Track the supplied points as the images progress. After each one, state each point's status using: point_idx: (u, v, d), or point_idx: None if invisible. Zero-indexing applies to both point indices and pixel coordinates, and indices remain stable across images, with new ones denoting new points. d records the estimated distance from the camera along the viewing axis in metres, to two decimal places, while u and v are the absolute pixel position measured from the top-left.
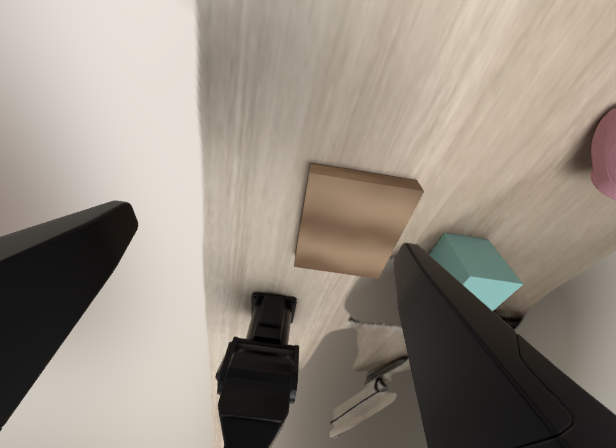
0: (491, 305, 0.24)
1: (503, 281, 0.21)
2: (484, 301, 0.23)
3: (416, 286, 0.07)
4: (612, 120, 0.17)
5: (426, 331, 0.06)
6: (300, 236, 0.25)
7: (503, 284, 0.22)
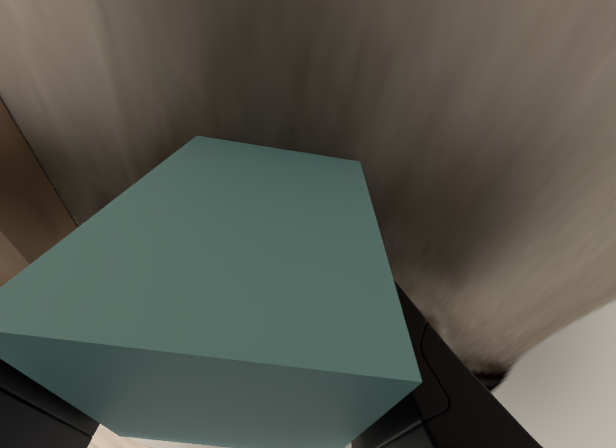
0: (310, 442, 0.05)
1: (262, 361, 0.03)
2: (264, 432, 0.05)
3: None
4: None
5: None
6: None
7: (278, 377, 0.03)
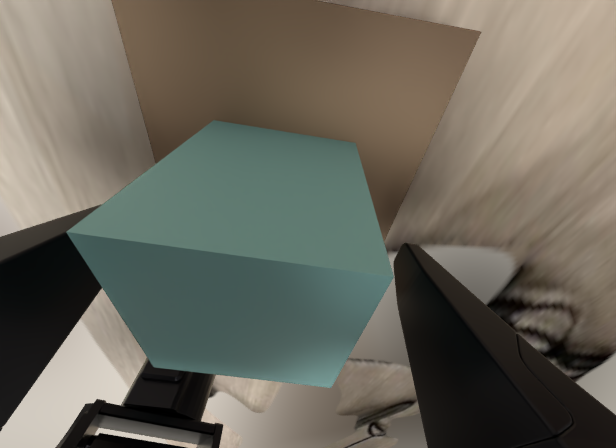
0: (313, 364, 0.06)
1: (280, 262, 0.04)
2: (276, 352, 0.06)
3: (416, 286, 0.07)
4: None
5: (426, 331, 0.06)
6: None
7: (290, 277, 0.04)
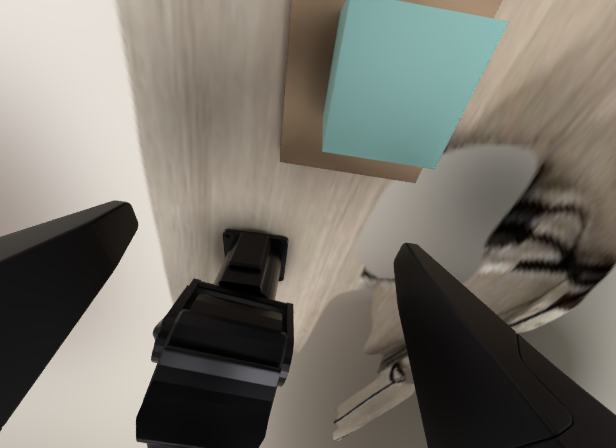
0: (433, 134, 0.10)
1: (451, 14, 0.07)
2: (415, 118, 0.09)
3: (416, 286, 0.07)
4: None
5: (426, 331, 0.06)
6: (287, 86, 0.14)
7: (454, 26, 0.08)
